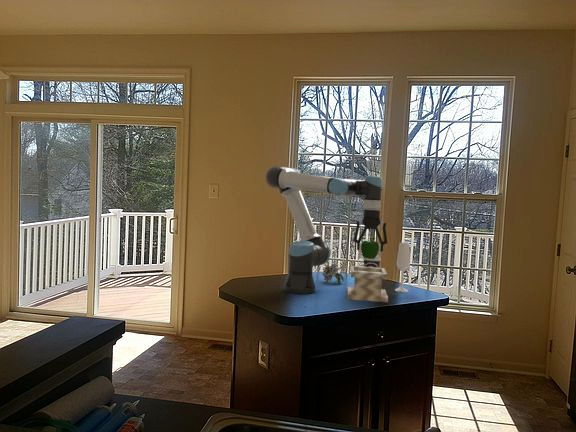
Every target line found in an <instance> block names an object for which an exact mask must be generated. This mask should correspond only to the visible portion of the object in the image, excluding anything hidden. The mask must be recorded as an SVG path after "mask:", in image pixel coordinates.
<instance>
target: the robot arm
mask: <svg viewBox="0 0 576 432" xmlns="http://www.w3.org/2000/svg"><path fill="white" fill-rule="evenodd" d="M382 181H383V179H382V177H381V176H378V175H377V176H376V175H366V176H365V179H348V178H341V177H339V178H338V177H331V176H326V175H325V176H324V175H315V174H311V173H310V174H309V173H308V174H307V173H302V172H300V170H298V169H297V168H295V167H291V166H279V165H275V166H272V167H270V168H269V169H268V170H267V171H266V173H265V182H266V184H267V185H268V186H269V187H270V188H272V189H274V190H279V192H280V196H282V197H284V198H285V201H286V204H287V206H288V209H289V211H290V213H291V217H292V220H293V221H294V224H295V226H296V229H297V232H298V235H299V237H300V240H298V241H294V242H292V243H290V245H289V250H288V271H287V272H288V274H287V276H286V279H285V282H284V285H283V291H285V292H287V293H291V294H298V295H300V294H301V295H309V294H313V293H315V292H316V284H315V280H314V276H313V272H314V271H313V269H314V267H318V266H321V265H324V264H327V262H328V261H329V259H330V258H331V254H332V251H331V250H332V249H331V247H330V245H329V244H328V243H327V242H326V241H324V240H323V237H322V235H320V234H318V232H317V231H316V227H315V225H314V222H313V220H312V217H311V215H310V212H309V210H308V206H307V205H306V202H305V199H304V197H303V194H302V190H304V191H311V192H315V193H316V192H318V193H324V194H331V195H334V196H340V197H341V196H347V197H348V196H351V197H352V196H355V197H358V196H359V197H363V199H364V201H363V203H364V204H363V208H364V209H363V218H362V220H357V221H356V227H355V231H354V235H353V236H354V237H353V242H354V243H356V250H357V251H358V258H359V259H360V258H361V257H362V252H361V244H362V239H363V237H364V235H366V232H367V230H375V233H376V236H377V238H378V242H379V243H378V244H379V250H378V253H377V255H378V259H380V258H381V252H384V251H383V250H384V245H386V244H388V235H387V229H386V228H387V227H386V226H387V222H384V221H381V211H380V209H381V205H382V203H381V199H382V187H383V185H382ZM362 224H363V226H364V228H363V229H362V231H361V234H360V235H359V230H360V226H361V225H362ZM379 226H381V227H382V233H383V234H382V235H383V239H382V237H381V234H380V231H379V228H378V227H379ZM358 235H359V237H358Z"/></svg>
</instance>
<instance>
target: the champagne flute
mask: <svg viewBox="0 0 576 432" xmlns="http://www.w3.org/2000/svg"><path fill="white" fill-rule="evenodd" d="M410 254H411V252H410V243H408V242H399V247H398V252H397V256H396V257H397V259H396V267H397V268H398V270H399V271H400V272H401V275H400V286H398V287H397V288H395V289H394V290H395V291H396V292H399V291H401V292H402V293H408V292H409V290H408V289H406V288H405V287H404V277H405V272H406V271H407V270H408V269H410V267H411V255H410ZM401 292H400V293H401Z"/></svg>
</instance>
